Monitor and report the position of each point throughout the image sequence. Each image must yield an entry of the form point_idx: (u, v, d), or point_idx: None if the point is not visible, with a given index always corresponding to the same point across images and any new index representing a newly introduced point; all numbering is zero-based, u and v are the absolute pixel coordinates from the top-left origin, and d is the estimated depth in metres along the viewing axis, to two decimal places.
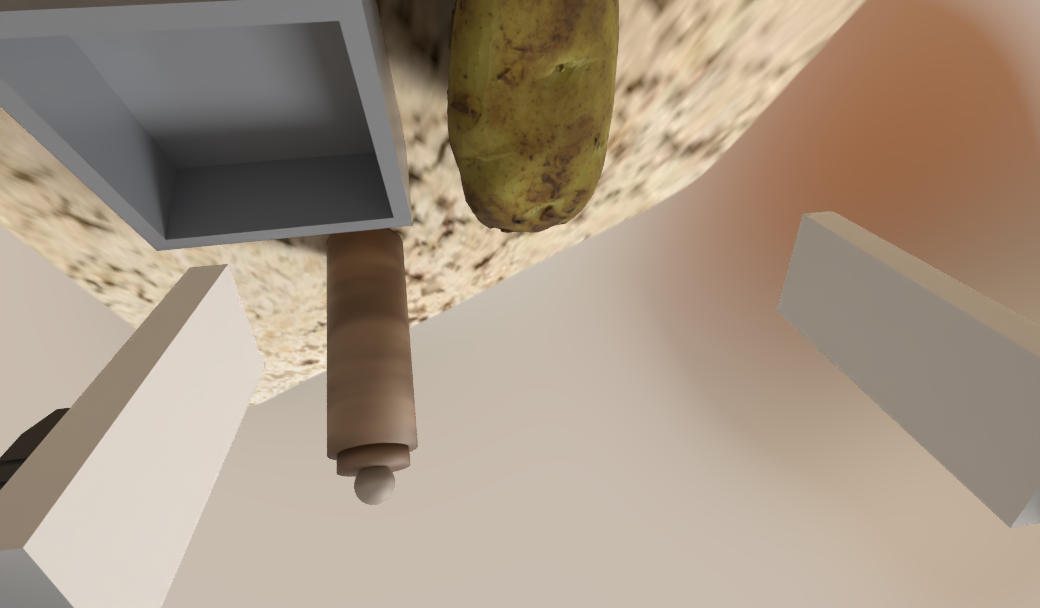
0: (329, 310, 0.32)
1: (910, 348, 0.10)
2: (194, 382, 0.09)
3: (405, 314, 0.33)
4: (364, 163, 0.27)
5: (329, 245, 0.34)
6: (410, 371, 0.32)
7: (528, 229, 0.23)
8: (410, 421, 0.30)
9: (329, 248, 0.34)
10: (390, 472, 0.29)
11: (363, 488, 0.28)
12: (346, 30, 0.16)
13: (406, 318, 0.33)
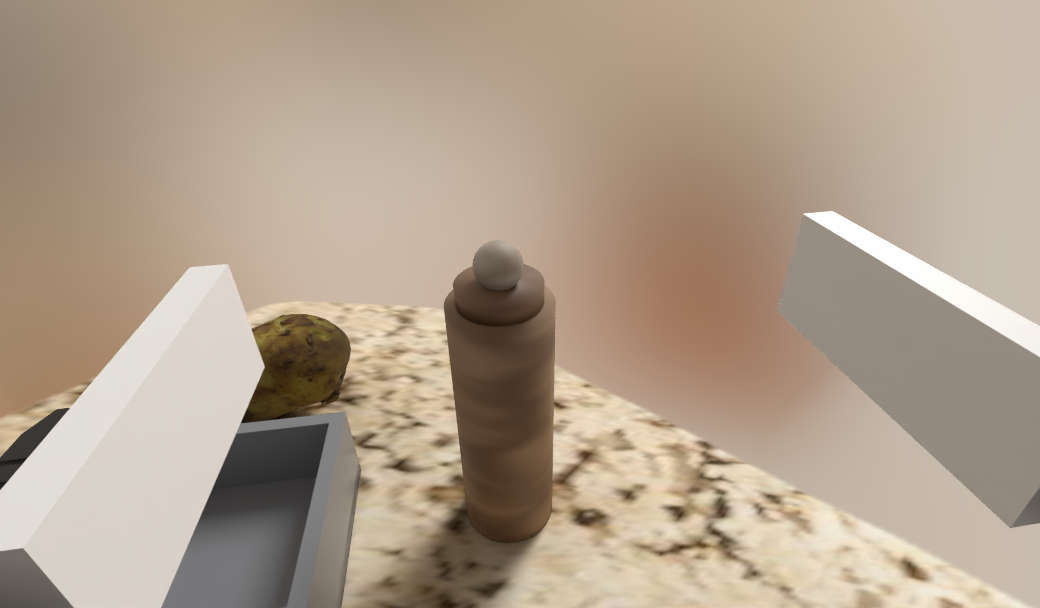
0: (483, 472, 0.26)
1: (910, 348, 0.10)
2: (194, 382, 0.09)
3: None
4: None
5: (486, 529, 0.29)
6: None
7: (301, 327, 0.33)
8: None
9: (487, 527, 0.29)
10: None
11: (476, 266, 0.22)
12: None
13: None
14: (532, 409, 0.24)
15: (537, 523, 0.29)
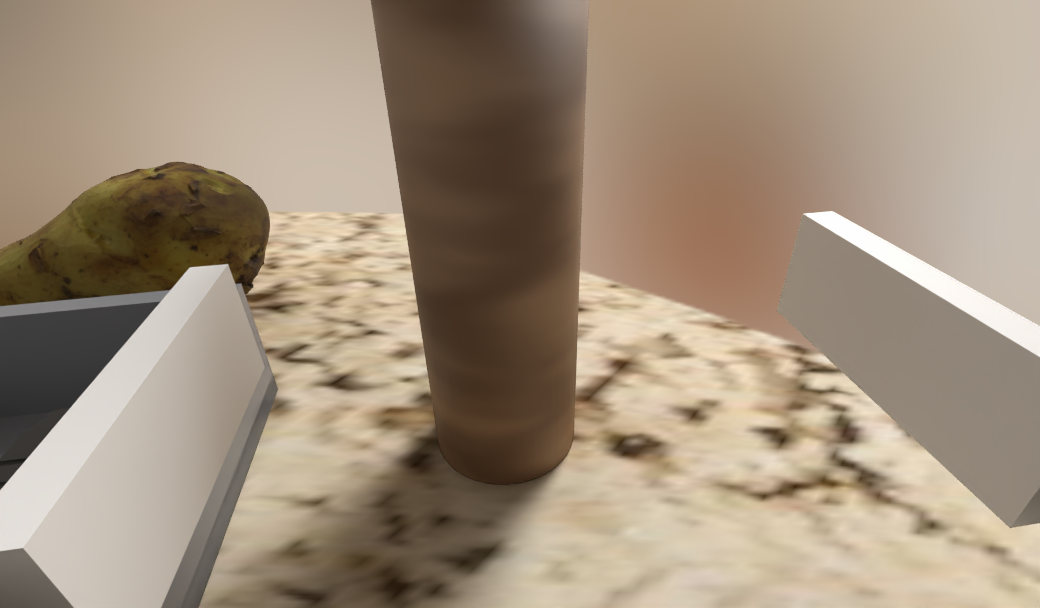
0: (457, 348, 0.15)
1: (910, 348, 0.10)
2: (194, 382, 0.09)
3: None
4: None
5: (467, 462, 0.17)
6: None
7: (183, 171, 0.22)
8: None
9: (469, 459, 0.17)
10: None
11: None
12: None
13: None
14: (545, 206, 0.13)
15: (552, 451, 0.17)
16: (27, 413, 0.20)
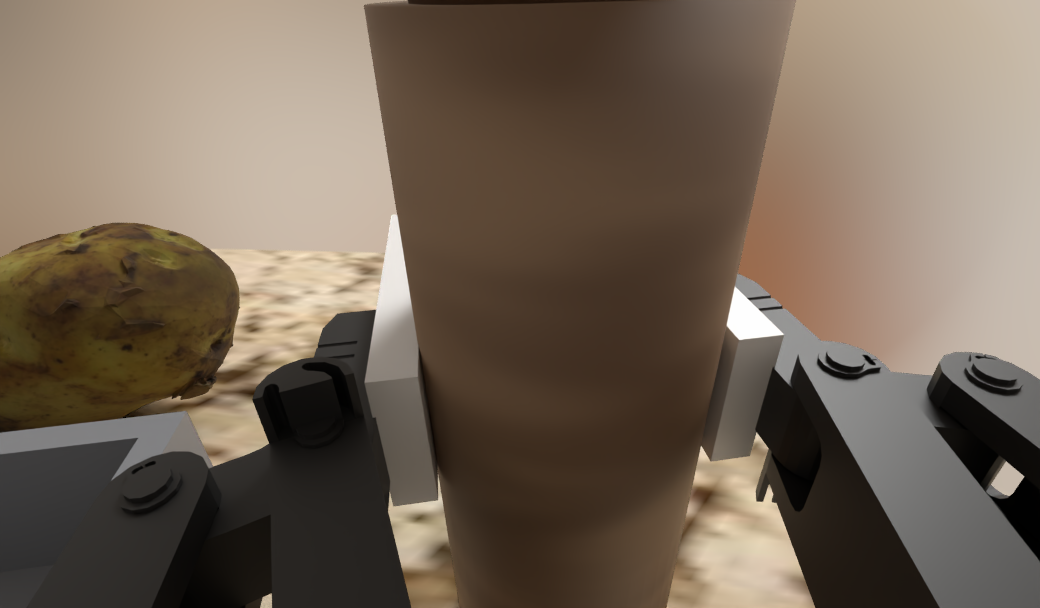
0: (508, 581, 0.09)
1: None
2: None
3: None
4: None
5: None
6: None
7: (116, 240, 0.16)
8: None
9: None
10: None
11: None
12: None
13: None
14: (681, 392, 0.07)
15: None
16: None
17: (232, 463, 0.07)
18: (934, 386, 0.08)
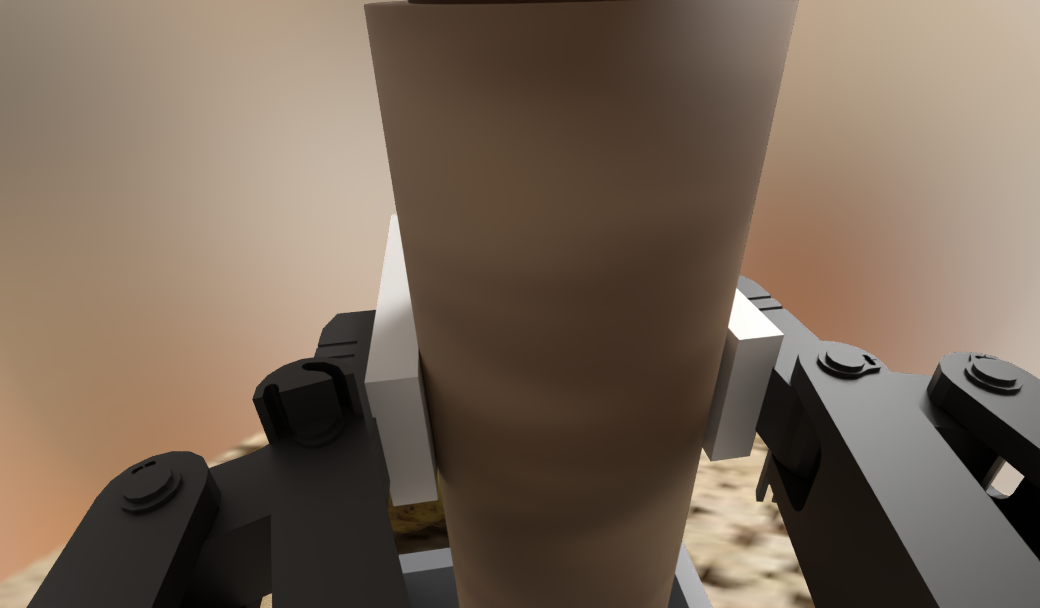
0: (508, 583, 0.09)
1: None
2: None
3: None
4: None
5: None
6: None
7: None
8: None
9: None
10: None
11: None
12: (405, 569, 0.20)
13: None
14: (683, 394, 0.07)
15: None
16: None
17: (232, 463, 0.07)
18: (934, 386, 0.08)
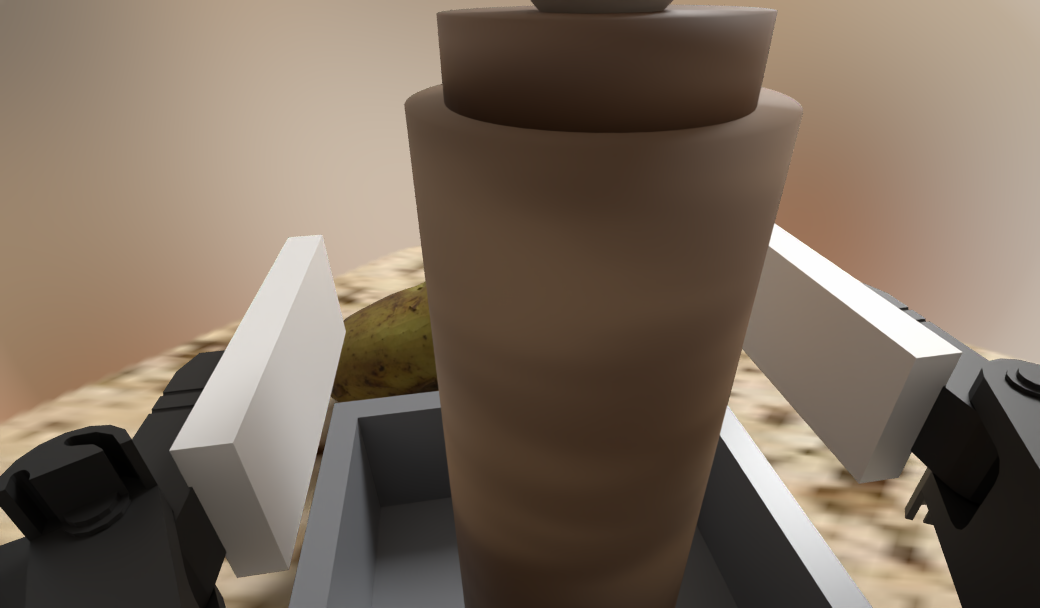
0: None
1: (788, 324, 0.11)
2: (308, 334, 0.10)
3: None
4: None
5: None
6: None
7: None
8: None
9: None
10: None
11: None
12: (369, 413, 0.16)
13: None
14: (689, 457, 0.08)
15: None
16: None
17: (3, 548, 0.06)
18: None
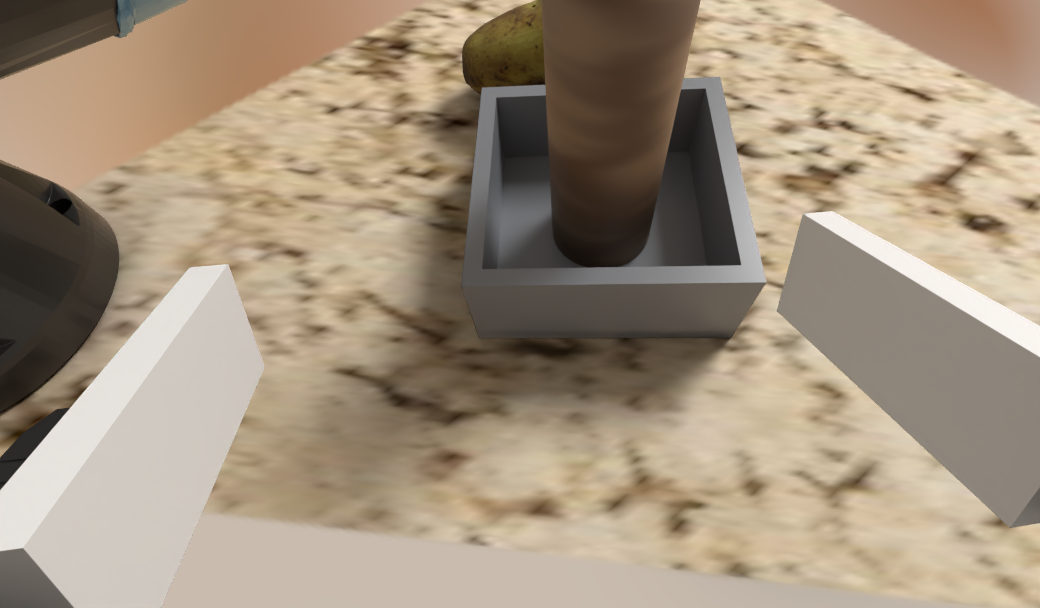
0: (574, 190, 0.22)
1: (910, 348, 0.10)
2: (194, 382, 0.09)
3: None
4: (694, 159, 0.28)
5: (572, 252, 0.26)
6: None
7: None
8: None
9: (573, 251, 0.26)
10: None
11: None
12: (502, 95, 0.27)
13: None
14: (648, 113, 0.18)
15: (629, 253, 0.25)
16: None
17: None
18: None
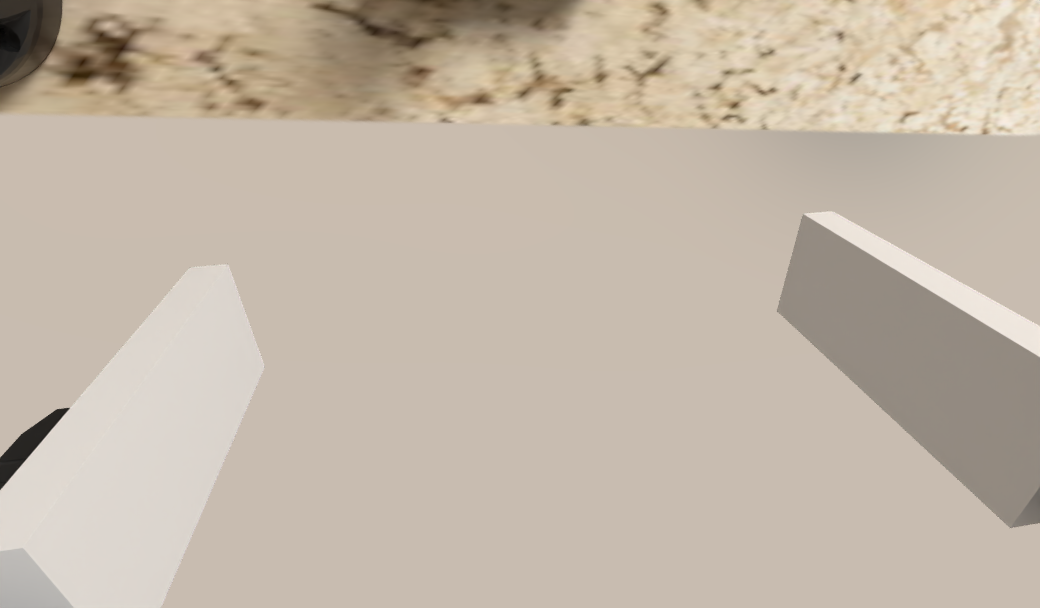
0: None
1: (910, 348, 0.10)
2: (194, 382, 0.09)
3: None
4: None
5: None
6: None
7: None
8: None
9: None
10: None
11: None
12: None
13: None
14: None
15: None
16: None
17: None
18: None
